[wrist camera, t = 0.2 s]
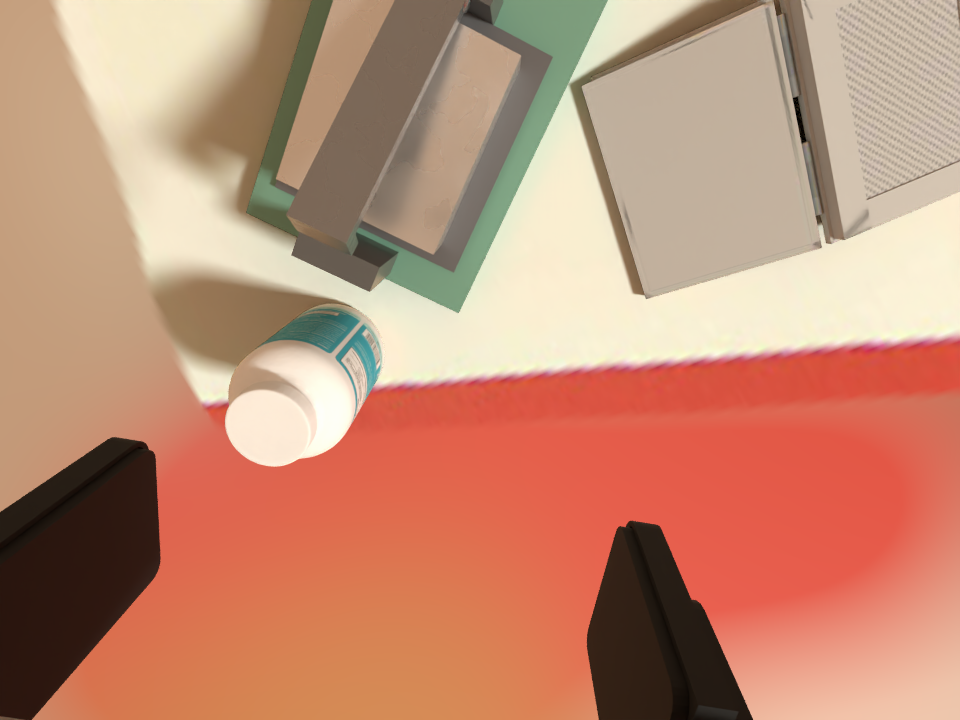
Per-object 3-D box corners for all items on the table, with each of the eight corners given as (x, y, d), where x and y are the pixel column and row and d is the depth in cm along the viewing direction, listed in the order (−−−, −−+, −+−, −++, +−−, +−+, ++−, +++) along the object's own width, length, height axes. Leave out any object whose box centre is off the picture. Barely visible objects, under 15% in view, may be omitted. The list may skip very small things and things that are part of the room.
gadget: (641, 298, 40) (654, 311, 37) (576, 84, 36) (583, 75, 32) (985, 175, 36) (1036, 176, 33) (960, -84, 32) (1016, -115, 28)
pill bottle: (273, 352, 42) (171, 432, 30) (327, 280, 40) (243, 334, 28) (351, 410, 44) (285, 512, 31) (407, 344, 42) (362, 424, 29)
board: (367, -145, 32) (327, -231, 25) (611, -10, 33) (638, -56, 26) (255, 210, 39) (199, 221, 32) (460, 307, 40) (449, 338, 33)
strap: (416, -11, 29) (417, -51, 27) (470, 18, 30) (476, -19, 27) (295, 230, 28) (283, 213, 25) (353, 257, 28) (347, 243, 26)
